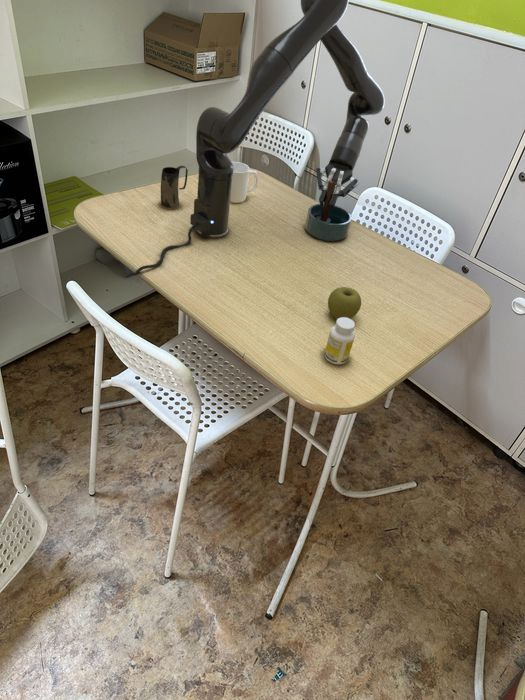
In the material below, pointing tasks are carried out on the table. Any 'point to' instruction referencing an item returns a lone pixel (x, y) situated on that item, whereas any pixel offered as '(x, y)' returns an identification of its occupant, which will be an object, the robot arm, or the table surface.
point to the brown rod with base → (327, 202)
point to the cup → (241, 182)
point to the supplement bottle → (340, 341)
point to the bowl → (328, 230)
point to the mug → (171, 187)
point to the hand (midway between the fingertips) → (325, 205)
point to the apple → (344, 302)
